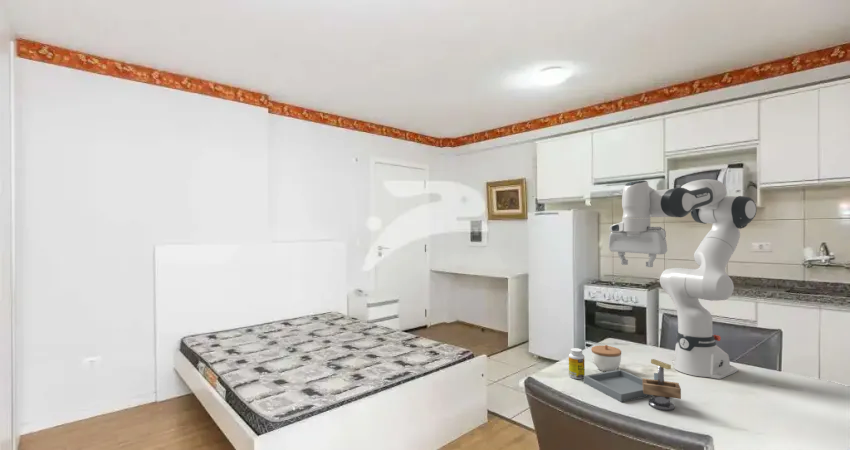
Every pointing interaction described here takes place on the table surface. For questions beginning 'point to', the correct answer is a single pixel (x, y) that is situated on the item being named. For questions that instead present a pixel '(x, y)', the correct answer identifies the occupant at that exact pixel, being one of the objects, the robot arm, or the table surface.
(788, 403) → the table surface
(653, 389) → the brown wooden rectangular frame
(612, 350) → the lidded jar
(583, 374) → the supplement bottle
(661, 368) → the plunger
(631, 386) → the tray
